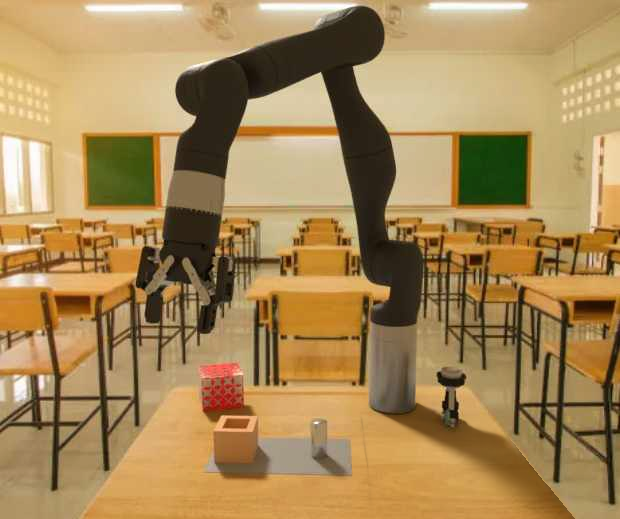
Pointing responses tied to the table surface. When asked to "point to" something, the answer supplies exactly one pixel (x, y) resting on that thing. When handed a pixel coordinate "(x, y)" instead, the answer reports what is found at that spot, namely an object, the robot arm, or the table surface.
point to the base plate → (290, 458)
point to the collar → (236, 439)
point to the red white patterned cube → (221, 386)
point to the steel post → (318, 438)
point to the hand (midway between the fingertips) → (177, 328)
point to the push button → (451, 393)
